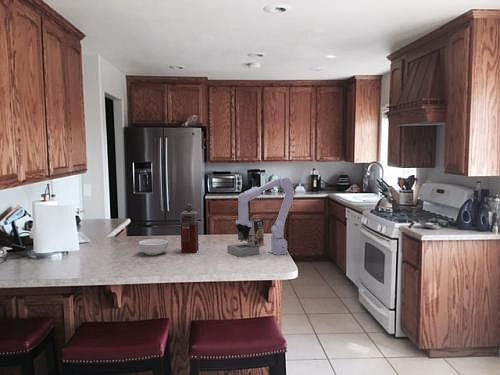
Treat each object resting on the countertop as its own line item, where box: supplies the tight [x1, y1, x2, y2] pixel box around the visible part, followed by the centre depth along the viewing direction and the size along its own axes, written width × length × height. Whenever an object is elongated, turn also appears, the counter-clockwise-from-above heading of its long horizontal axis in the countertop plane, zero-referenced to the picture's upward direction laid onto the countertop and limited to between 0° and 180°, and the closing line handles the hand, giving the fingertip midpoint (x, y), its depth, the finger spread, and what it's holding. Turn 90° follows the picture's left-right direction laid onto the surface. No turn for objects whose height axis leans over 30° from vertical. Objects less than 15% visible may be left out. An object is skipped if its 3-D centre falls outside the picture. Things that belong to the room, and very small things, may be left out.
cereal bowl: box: [138, 238, 169, 256], centre depth 246 cm, size 17×17×7 cm
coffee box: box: [247, 218, 265, 247], centre depth 264 cm, size 9×6×16 cm
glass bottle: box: [179, 203, 200, 254], centre depth 248 cm, size 9×11×28 cm
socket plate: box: [226, 242, 260, 258], centre depth 244 cm, size 14×13×4 cm
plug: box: [237, 231, 249, 243], centre depth 243 cm, size 4×5×6 cm
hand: (243, 237), depth 243 cm, fingers closed on plug, 4 cm apart
